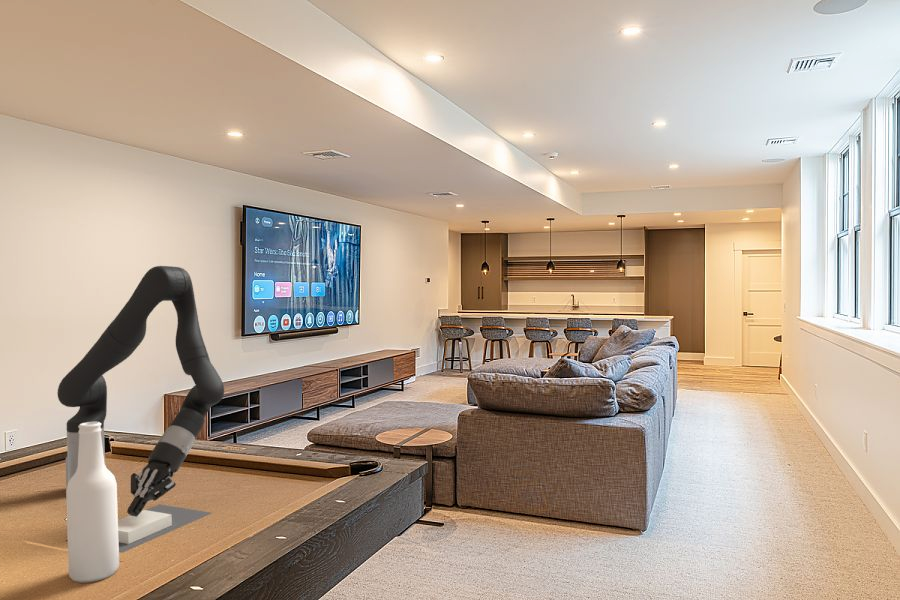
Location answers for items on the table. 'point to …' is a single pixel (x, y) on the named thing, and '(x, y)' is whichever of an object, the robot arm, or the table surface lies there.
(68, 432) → the robot arm
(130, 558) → the table surface
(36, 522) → the table surface
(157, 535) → the mat
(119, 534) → the tile
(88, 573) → the alcohol
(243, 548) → the table surface
